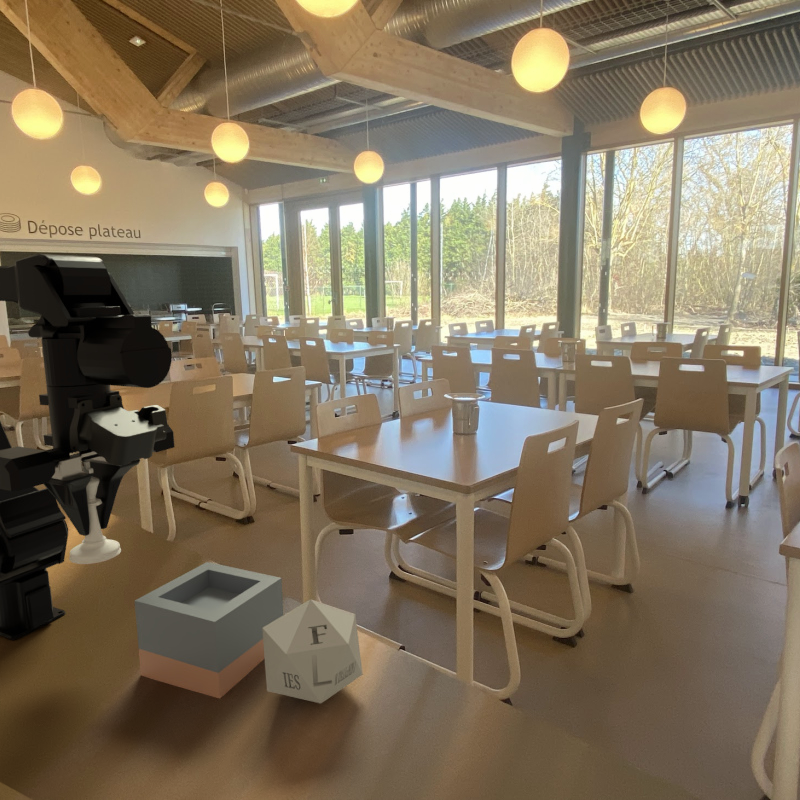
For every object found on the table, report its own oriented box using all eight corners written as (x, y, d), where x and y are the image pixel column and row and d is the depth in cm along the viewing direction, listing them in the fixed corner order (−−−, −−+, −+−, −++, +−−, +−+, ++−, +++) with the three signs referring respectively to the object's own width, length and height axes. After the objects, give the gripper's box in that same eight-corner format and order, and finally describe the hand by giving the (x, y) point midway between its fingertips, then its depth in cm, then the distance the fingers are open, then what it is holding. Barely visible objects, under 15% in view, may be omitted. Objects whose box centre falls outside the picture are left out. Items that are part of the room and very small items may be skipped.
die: (271, 743, 54) (265, 631, 52) (264, 682, 62) (258, 584, 61) (371, 723, 56) (368, 615, 54) (351, 667, 64) (348, 572, 63)
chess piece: (107, 542, 71) (98, 453, 69) (130, 552, 68) (121, 460, 66) (60, 556, 67) (50, 463, 66) (82, 568, 64) (72, 470, 63)
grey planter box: (141, 676, 64) (134, 600, 62) (211, 629, 73) (207, 561, 71) (220, 703, 59) (214, 621, 58) (284, 649, 68) (281, 577, 67)
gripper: (40, 402, 53) (60, 581, 55) (206, 375, 69) (215, 515, 72) (-38, 394, 58) (-17, 559, 61) (133, 371, 74) (145, 501, 77)
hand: (93, 531), depth 67 cm, fingers closed on chess piece, 2 cm apart
